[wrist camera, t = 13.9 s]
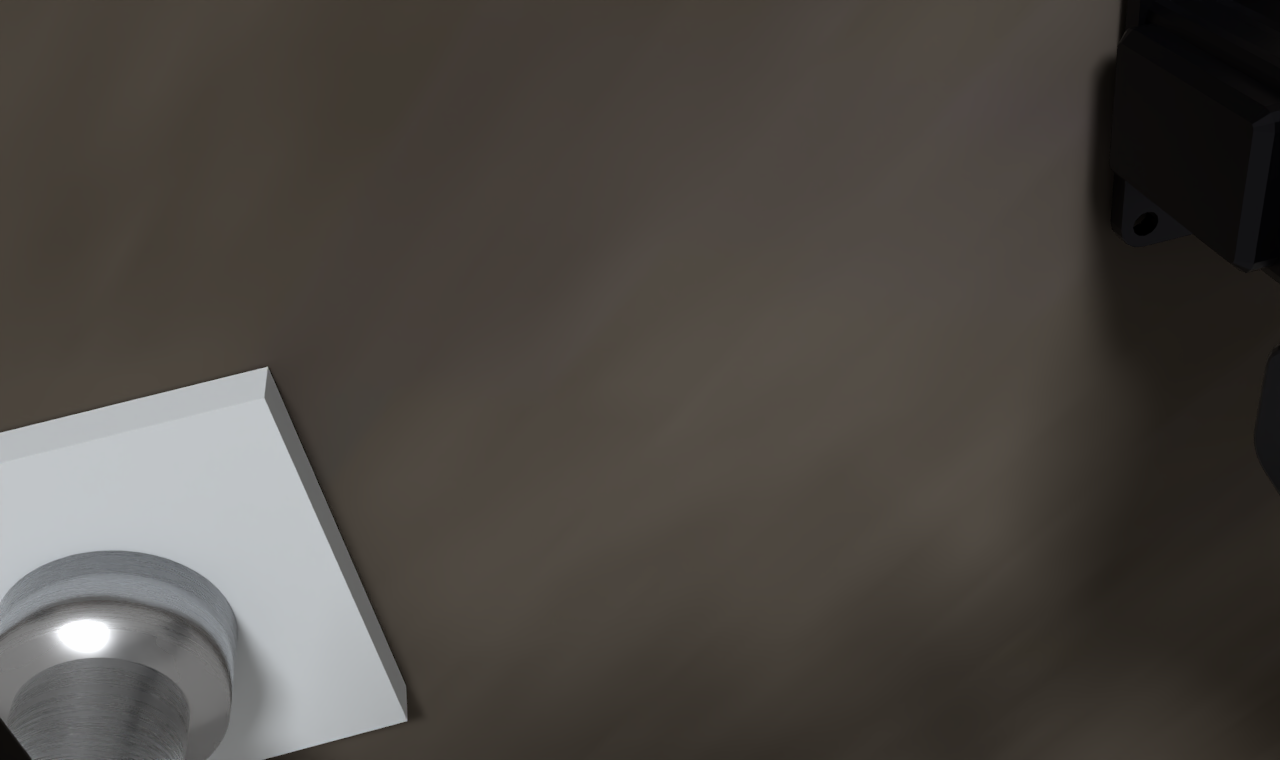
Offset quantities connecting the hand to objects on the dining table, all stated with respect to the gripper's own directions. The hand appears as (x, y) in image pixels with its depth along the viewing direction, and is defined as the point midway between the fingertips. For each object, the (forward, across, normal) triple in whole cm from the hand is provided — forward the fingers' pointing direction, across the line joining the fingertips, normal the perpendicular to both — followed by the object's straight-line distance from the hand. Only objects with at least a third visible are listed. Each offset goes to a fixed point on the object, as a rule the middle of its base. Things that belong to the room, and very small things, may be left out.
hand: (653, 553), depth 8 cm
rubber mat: (+13, +10, +10) cm, 19 cm away
